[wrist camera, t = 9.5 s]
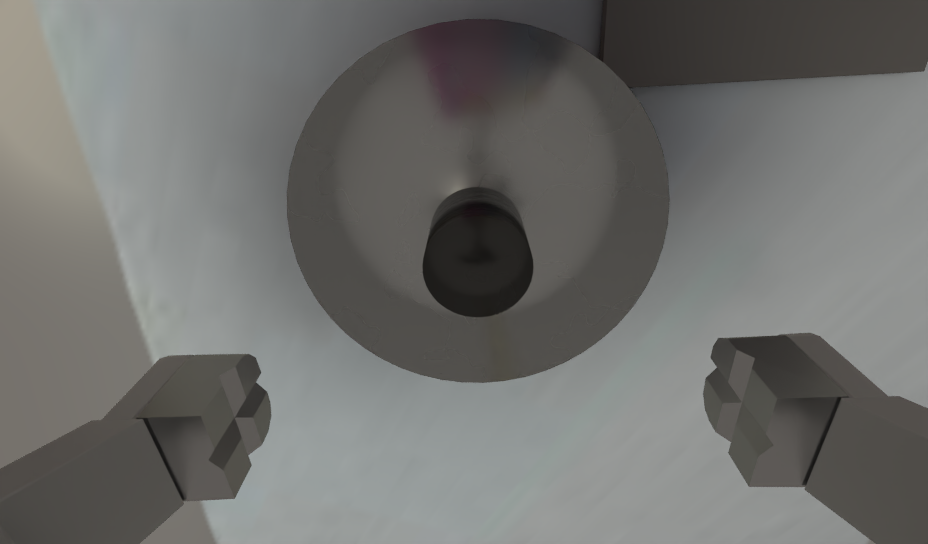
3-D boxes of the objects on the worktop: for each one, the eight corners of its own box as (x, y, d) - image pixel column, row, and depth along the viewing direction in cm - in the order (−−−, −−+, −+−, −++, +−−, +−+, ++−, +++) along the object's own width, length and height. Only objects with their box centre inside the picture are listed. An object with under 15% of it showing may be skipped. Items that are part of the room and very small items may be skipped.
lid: (255, 32, 14) (188, 30, 11) (687, 7, 14) (756, -5, 11) (329, 375, 20) (300, 443, 17) (639, 364, 20) (674, 432, 16)
